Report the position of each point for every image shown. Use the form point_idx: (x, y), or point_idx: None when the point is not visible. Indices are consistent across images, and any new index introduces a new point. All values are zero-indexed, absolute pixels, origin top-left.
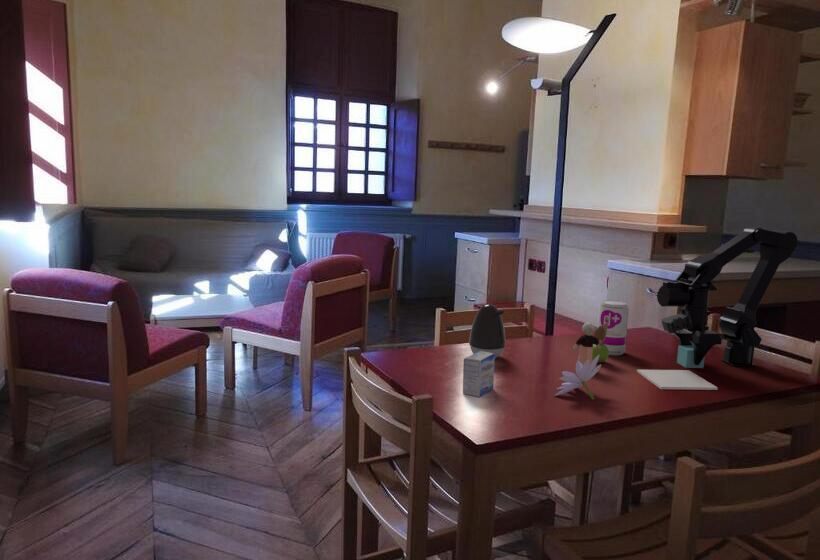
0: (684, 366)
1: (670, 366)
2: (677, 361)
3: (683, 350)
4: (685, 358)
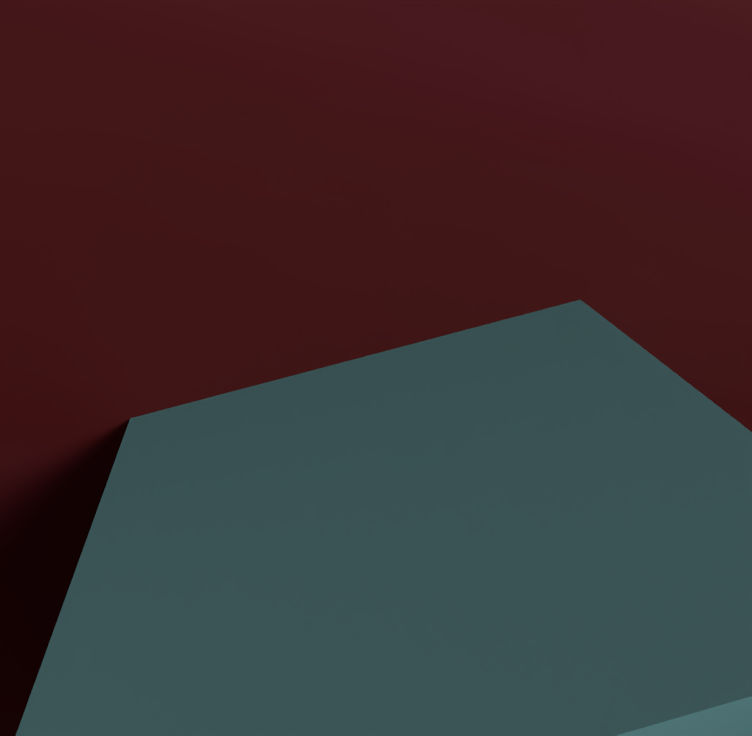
0: (194, 407)
1: (77, 6)
2: (565, 317)
3: (371, 689)
4: (146, 546)
